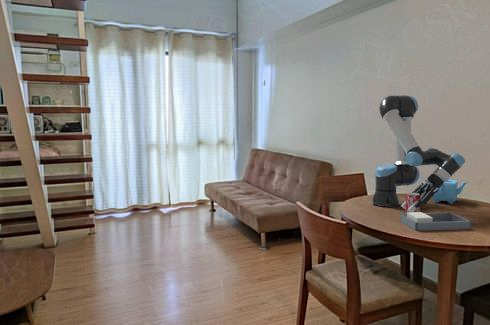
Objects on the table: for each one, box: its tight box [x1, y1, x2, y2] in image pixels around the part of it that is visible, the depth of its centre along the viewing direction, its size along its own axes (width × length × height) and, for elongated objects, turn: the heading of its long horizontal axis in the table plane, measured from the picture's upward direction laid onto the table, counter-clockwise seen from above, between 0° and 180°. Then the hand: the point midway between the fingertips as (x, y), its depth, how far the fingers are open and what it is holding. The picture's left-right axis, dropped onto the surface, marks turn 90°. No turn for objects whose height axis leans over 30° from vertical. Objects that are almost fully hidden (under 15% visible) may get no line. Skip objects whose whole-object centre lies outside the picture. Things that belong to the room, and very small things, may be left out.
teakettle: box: [422, 178, 470, 205], centre depth 215 cm, size 19×19×15 cm
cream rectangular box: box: [407, 212, 433, 223], centre depth 166 cm, size 7×10×5 cm
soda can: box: [405, 192, 422, 214], centre depth 185 cm, size 7×7×12 cm
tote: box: [399, 212, 472, 232], centre depth 166 cm, size 25×16×4 cm, turn 91°
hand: (406, 209), depth 185 cm, fingers closed on soda can, 7 cm apart
